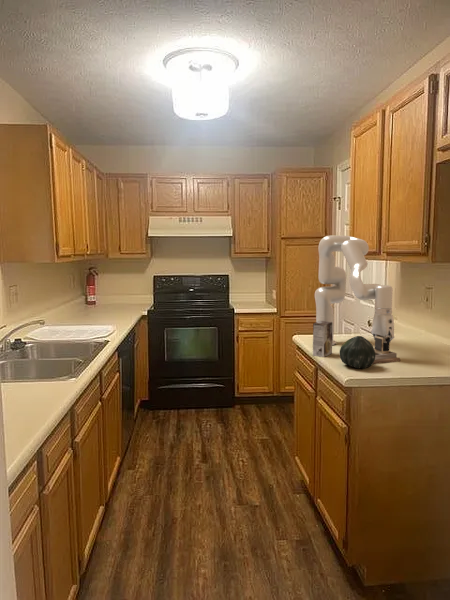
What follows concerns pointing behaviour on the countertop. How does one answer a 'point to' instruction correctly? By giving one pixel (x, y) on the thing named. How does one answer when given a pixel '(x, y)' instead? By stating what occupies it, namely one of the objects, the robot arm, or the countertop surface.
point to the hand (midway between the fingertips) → (381, 349)
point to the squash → (357, 352)
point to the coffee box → (322, 338)
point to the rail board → (385, 357)
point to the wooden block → (380, 345)
